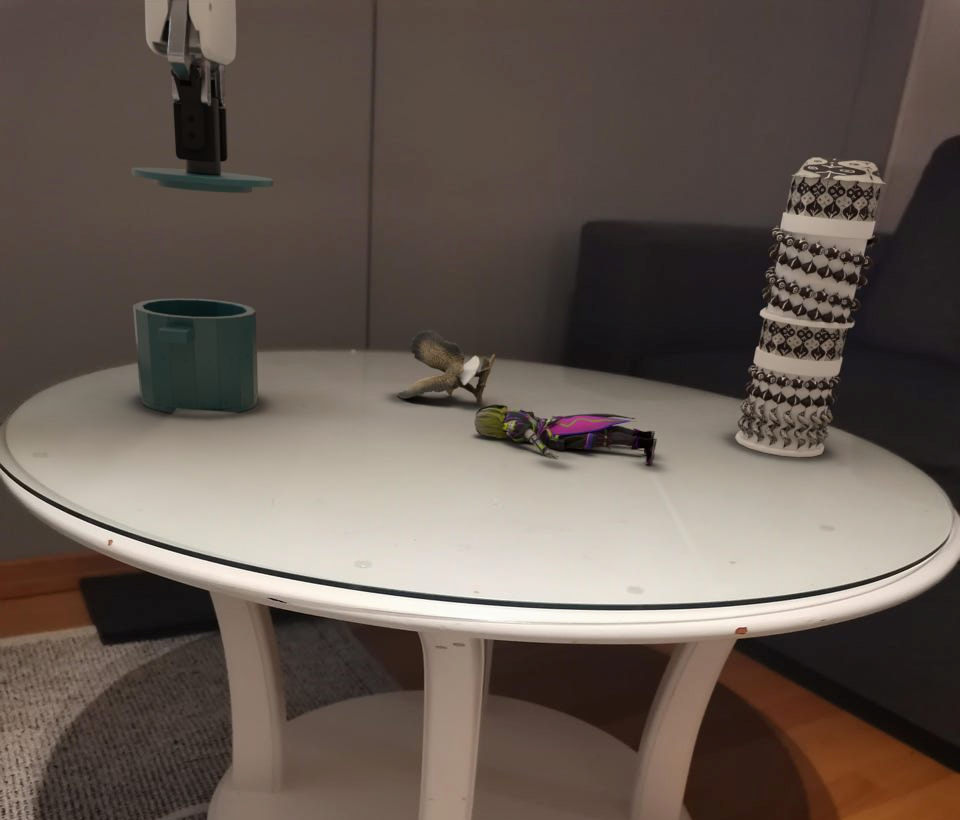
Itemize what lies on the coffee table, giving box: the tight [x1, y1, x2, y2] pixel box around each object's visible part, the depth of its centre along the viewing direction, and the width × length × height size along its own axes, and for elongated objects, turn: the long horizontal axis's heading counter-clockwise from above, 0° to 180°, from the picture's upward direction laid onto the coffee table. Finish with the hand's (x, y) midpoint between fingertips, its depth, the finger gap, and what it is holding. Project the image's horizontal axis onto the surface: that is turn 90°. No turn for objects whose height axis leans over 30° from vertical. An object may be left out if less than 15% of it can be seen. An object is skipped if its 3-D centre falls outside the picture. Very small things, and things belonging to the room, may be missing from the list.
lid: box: [131, 98, 274, 194], centre depth 80 cm, size 11×11×7 cm
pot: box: [132, 297, 259, 414], centre depth 91 cm, size 11×16×8 cm, turn 0°
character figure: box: [474, 404, 658, 466], centre depth 86 cm, size 9×4×16 cm
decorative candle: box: [734, 156, 887, 458], centre depth 89 cm, size 9×9×25 cm
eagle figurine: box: [396, 329, 496, 406], centre depth 99 cm, size 8×7×9 cm
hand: (202, 157), depth 81 cm, fingers closed on lid, 2 cm apart
